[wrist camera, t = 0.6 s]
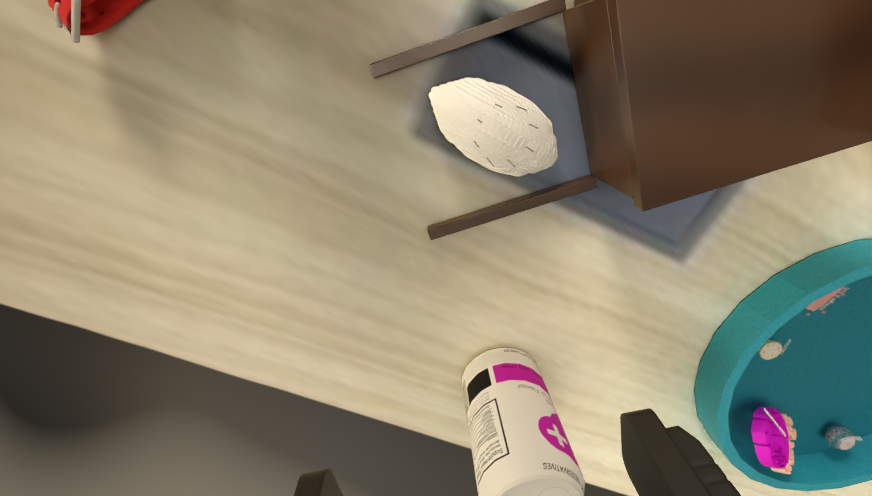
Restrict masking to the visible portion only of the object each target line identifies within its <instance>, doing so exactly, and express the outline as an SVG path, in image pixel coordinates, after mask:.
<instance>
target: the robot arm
mask: <svg viewBox="0 0 872 496" xmlns="http://www.w3.org/2000/svg"><path fill="white" fill-rule="evenodd" d="M620 420H621V442H622V456H623V460H624V464H625V467H626V470H627V472H628V475H629V477H630V479H631V481H632V483H633V485H634V487H635V489H636V491H637V492H638V494H639V496H741V495H740V494H739V492H738V491H737V490H736V488H735V487H734V486H733V484H732V483H731V482H730V481H728V480H727V478H726V475H725V474H724V473H723V471H722V470H721V469H720V467H719V466H718V465H717V464H715V462H714V460H713V458H712V457H711V456H710V454H709V453H708V452H707V450H706V449H705V448H704V446H703V445H702V444H701V443H700V441H699V440H697V439H696V438H695V437H693V436H692V435H690V434H689V433H688V432H686V431H685V430H684V429H682V428H681V427H679V426H675V427H670V428H665V427H664V425H663V424H662V422H661V421H660V419H659V418H658V416H657V415H656V414H655V412H654V411H653V410H651V409H644V410H638V411H633V412H628V413H623V414H621V417H620ZM294 496H343V494H342V492H341V490H340V488H339V485H338V483H337V481H336V479H335V476H334V474H333V472H332V470H331V469H324V470H320V471H314V472H309V473H304V474H302V475H301V476H300V478H299V480H298V484H297V487H296V491H295V494H294Z"/></svg>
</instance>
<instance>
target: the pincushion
mask: <svg viewBox="0 0 872 496" xmlns="http://www.w3.org/2000/svg"><path fill="white" fill-rule="evenodd" d="M428 96H429V98H430V100H431V105H432V107H433V108H434V110H433V112H434V114H435V116H436V117H435V118H436V119H437V121H438V123H437V124H438V125H439V129H440V131H441V132H442V133H443V134H444V136H445V138H446V139H447V140H448V141H449V142H450V143H453V144H454V145H455V146H456V148H457V149H459V150H460V151H461V152H462V153H463V154H464V155H465V156H466V157H468V158H469V159H472V160H473V161H475V162H477V163H479V164H481V165H482V166H484V167H486V168H488V169H490V170H492V171H495V172H499V173H503V174H508V175H512V176H523V175H526V174H527V173H537V172H538V171H541V170H545V169H547V168H548V167H552V166H553V165H554V163H555V161H556V160H557V158H558V155H557V153H558V148H557V144H556V142H557V139H556V136H555V135H554V134H553V128H552V127H553V126H552V123H551V121H550V120H549V119H548V118H547V117H546V116H545V114H544V113H543V112H542V111H541V110H539V108H538V107H537V106H536V105H535V104H534V103H533V102H532V101H530V100H528V99H527V98H525V97H524V96H522V95H520V94H518V93H516V92H515V91H513V90H511V89H510V88H508V87H506V86H504V85H498V84H496V83H493V82H486V81H485V80H483V79H480V78H470V77H467V78H465V79H460V80H456V81H454V82H447V84H441V85H439V86H435V87H432V89H431V92H430V93H429V95H428Z"/></svg>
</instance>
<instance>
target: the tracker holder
mask: <svg viewBox="0 0 872 496" xmlns="http://www.w3.org/2000/svg"><path fill="white" fill-rule="evenodd" d="M143 1H144V0H48V4H49V6H50V7H51V8H52V10H53V11H54V19H55V22H56V25H57V27H59V28H62V27H63V25H64V27H65V29H66V31H67V32H68V34H69V36H70V37H71V39H72V41H73V42H75V43H79V42H80V35H94V34H96V33H99V32H101V31H104V30H106V29H107V28H109V27H110V26H111V25H113V24H114V23H116V22H117V21H118V20H120V19H121V18H122V17H124V16H125V15H126V14H127V13H128V12H130V11H131V10H132V9H133V8H135V7H136V6H138V5H139V4H140V3H142V2H143ZM62 24H63V25H62Z"/></svg>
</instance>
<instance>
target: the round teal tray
mask: <svg viewBox="0 0 872 496" xmlns="http://www.w3.org/2000/svg"><path fill="white" fill-rule="evenodd" d="M694 393H695V401H696V408H697V415H698V417H699V419H700V421H701V422H702V424H703V426H704V428H705V429H706V431H707V433H708V435H709V436H710V437H711V439H712V440H713V441H714V442H715V444H716V445H717V446H718V447H719V449H720V450H721V451H722V452H723V454H724V455H725V456H726V457H727V459H728V460H729V461H730V462H731V464H733V465H734V466H735V467H736V468H738V469H739V470H740V471H742V472H743V473H744V474H745V475H747V476H748V477H749V478H750V479H753V480H755V481H758V482H761V483H764V484H767V485H769V486H772V487H775V488H780V489H790V490H801V491H814V490H824V489H835V488H843V487H846V486H850V485H854V484H858V483H862V482H866V481H869V480H872V239H865V240H856V241H853V242H850V243H847V244H843V245H840V246H837V247H834V248H831V249H828V250H824V251H821V252H818V253H815V254H813V255H811V256H809V257H807V258H806V259H804V260H802V261H800V262H798V263H796V264H794V265H792V266H791V267H789V268H787V269H785V270H783V271H781V272H779V273H778V274H776V275H774V276H773V277H772V278H771V279H769V280H768V281H767V282H765V283H764V284H763V285H762V286H760V287H759V288H758V289H757V290H755V291H754V292H753V293H752V294H750V295H749V296H748V297H747V298H745V299H744V300H743V301H742V302H741V303H740V304H739V305H738V306H737V307H736V309H735V310H734V311H733V312H732V313H731V315H730V316H729V317H728V318H727V319H726V320H725V322H724V323H723V324H722V325H721V326H720V327H719V329H718V330H717V331H716V332H715V334H714V336H713V338H712V340H711V342H710V344H709V346H708V348H707V350H706V352H705V353H704V355H703V357H702V359H701V361H700V365H699V369H698V374H697V379H696V384H695V388H694Z"/></svg>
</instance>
